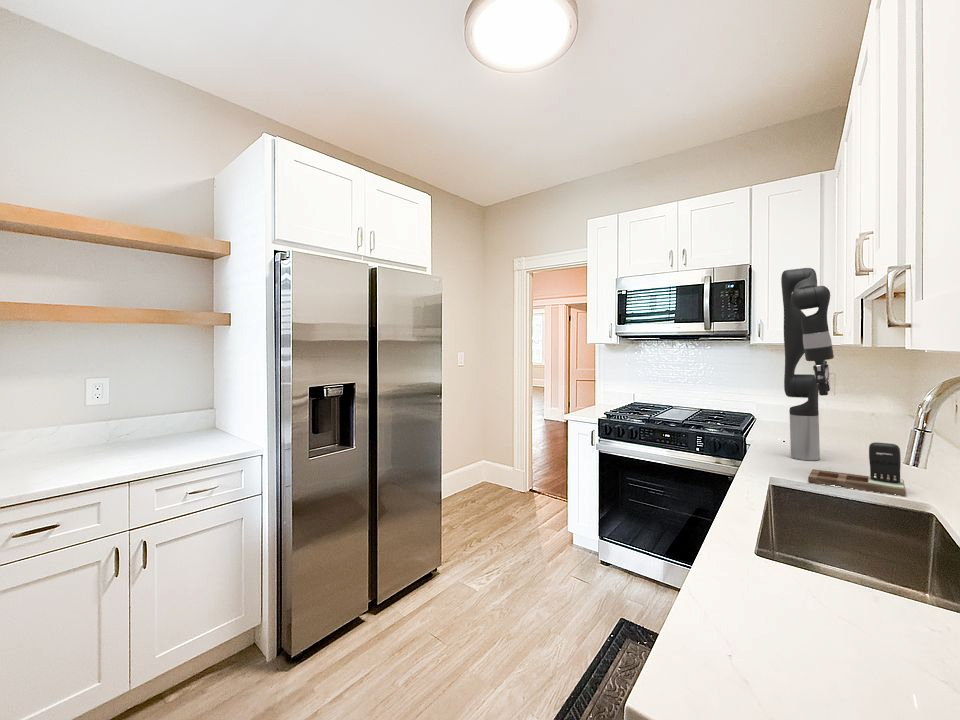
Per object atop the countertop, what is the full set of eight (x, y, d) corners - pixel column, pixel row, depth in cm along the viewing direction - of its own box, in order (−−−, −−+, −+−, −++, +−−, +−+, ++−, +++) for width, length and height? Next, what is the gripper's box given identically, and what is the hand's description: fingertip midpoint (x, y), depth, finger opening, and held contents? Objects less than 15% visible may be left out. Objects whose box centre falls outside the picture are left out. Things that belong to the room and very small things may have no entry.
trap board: (812, 475, 145) (812, 468, 145) (903, 486, 130) (903, 479, 130) (808, 482, 136) (808, 475, 136) (905, 496, 121) (905, 488, 121)
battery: (869, 480, 129) (868, 442, 129) (869, 477, 132) (868, 441, 132) (901, 484, 124) (900, 445, 124) (901, 481, 127) (900, 443, 127)
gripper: (830, 346, 136) (838, 396, 136) (833, 342, 147) (840, 389, 147) (801, 349, 142) (808, 397, 142) (806, 345, 152) (813, 390, 152)
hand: (824, 393), depth 144 cm, fingers open, 8 cm apart
